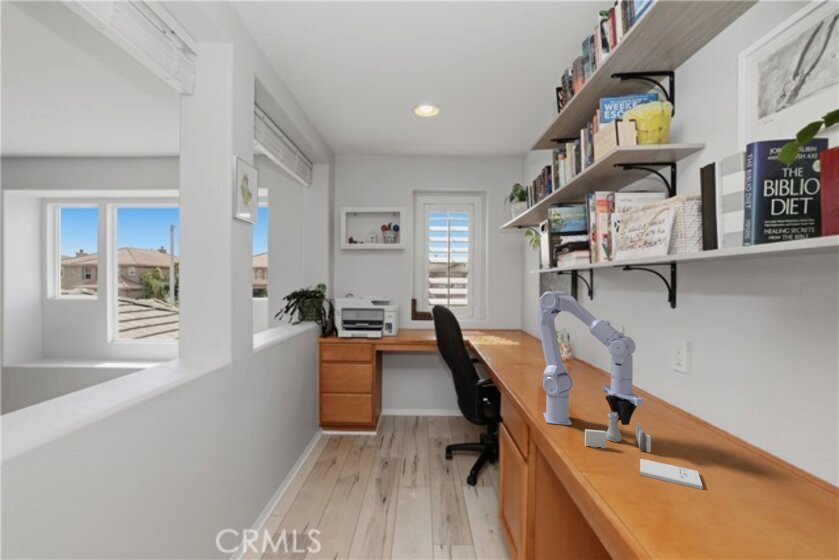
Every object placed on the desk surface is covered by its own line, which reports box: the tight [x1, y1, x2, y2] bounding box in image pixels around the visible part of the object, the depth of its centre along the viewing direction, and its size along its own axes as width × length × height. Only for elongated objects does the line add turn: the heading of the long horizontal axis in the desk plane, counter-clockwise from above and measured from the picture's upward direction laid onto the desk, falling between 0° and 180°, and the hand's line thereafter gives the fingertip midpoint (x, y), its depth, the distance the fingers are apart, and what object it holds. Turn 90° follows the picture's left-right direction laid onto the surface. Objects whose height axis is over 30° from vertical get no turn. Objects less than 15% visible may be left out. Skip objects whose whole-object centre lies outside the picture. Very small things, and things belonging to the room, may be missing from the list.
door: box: [635, 422, 646, 452], centre depth 111 cm, size 1×10×5 cm, turn 156°
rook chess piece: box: [605, 410, 623, 443], centre depth 115 cm, size 4×4×8 cm
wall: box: [584, 428, 652, 454], centre depth 109 cm, size 1×17×4 cm, turn 78°
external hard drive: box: [639, 458, 703, 490], centre depth 94 cm, size 2×8×12 cm
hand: (621, 422), depth 115 cm, fingers open, 3 cm apart
